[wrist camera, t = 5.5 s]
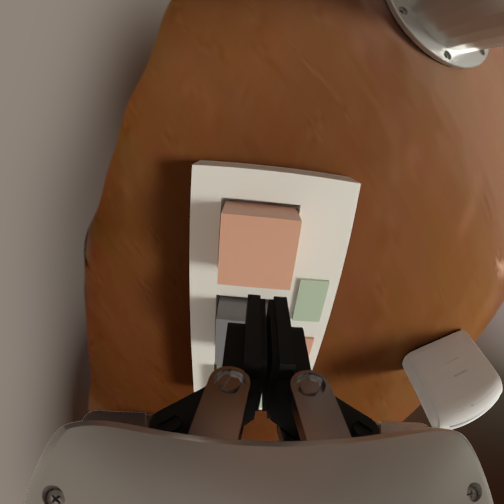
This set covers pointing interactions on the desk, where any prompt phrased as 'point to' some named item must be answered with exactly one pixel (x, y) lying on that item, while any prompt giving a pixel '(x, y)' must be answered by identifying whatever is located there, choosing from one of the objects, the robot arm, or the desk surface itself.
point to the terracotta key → (258, 245)
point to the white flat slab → (308, 253)
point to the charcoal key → (228, 320)
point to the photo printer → (452, 380)
